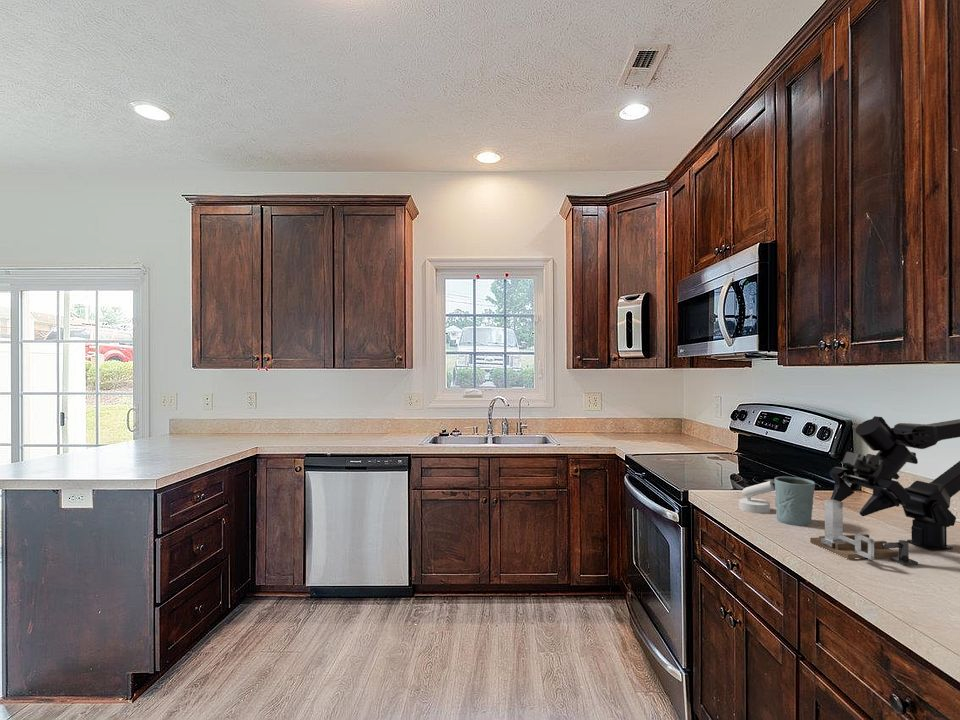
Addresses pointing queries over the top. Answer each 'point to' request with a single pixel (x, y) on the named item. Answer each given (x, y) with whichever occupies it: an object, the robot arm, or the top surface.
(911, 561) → the keeper hook
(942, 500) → the robot arm
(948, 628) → the top surface
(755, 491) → the wall hook
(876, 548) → the track board
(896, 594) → the top surface
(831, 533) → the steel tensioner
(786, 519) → the green embossed cup
